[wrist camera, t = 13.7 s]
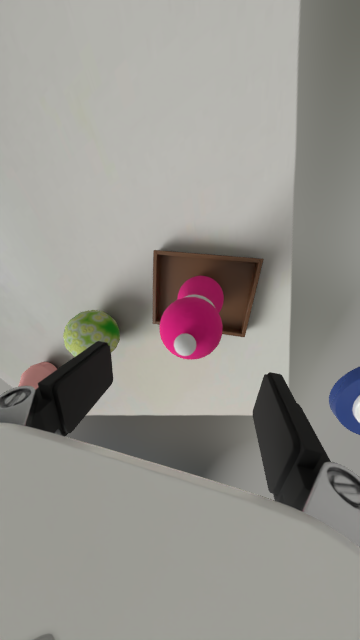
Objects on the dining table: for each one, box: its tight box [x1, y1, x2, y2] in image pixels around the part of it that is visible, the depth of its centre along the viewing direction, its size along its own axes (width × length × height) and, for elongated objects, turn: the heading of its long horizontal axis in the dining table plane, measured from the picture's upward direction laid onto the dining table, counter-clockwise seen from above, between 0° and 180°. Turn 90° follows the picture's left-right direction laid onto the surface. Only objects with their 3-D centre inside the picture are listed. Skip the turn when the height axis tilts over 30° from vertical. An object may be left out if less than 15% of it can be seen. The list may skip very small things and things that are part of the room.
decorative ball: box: [63, 310, 120, 357], centre depth 34 cm, size 10×10×10 cm
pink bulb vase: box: [18, 362, 57, 389], centre depth 42 cm, size 8×8×12 cm
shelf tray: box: [153, 250, 263, 337], centre depth 30 cm, size 17×13×3 cm
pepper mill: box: [160, 276, 224, 359], centre depth 22 cm, size 7×7×20 cm
